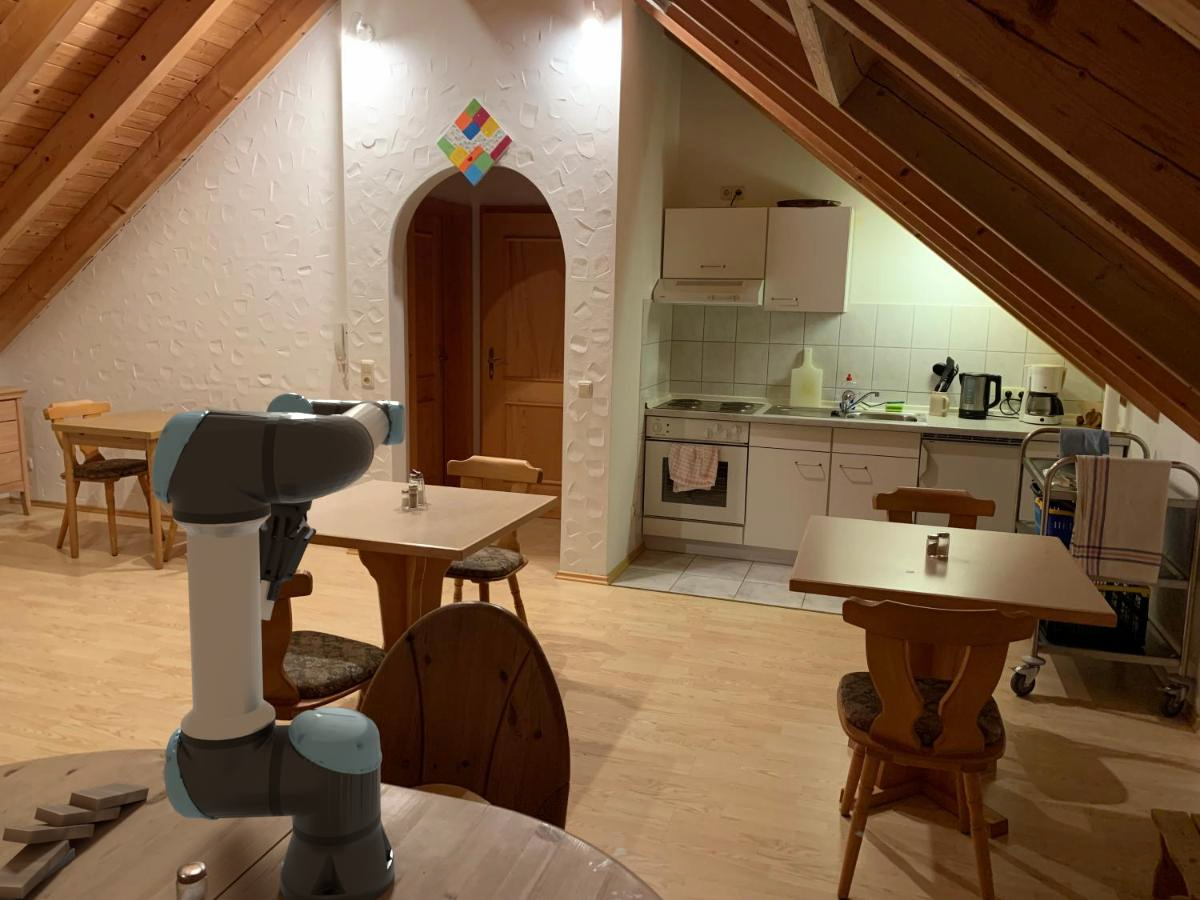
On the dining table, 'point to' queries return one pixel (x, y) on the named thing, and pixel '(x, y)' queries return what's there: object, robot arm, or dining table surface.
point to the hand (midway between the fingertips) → (261, 619)
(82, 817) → the domino
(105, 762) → the dining table surface
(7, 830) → the domino
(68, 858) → the domino
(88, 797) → the domino
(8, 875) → the domino
